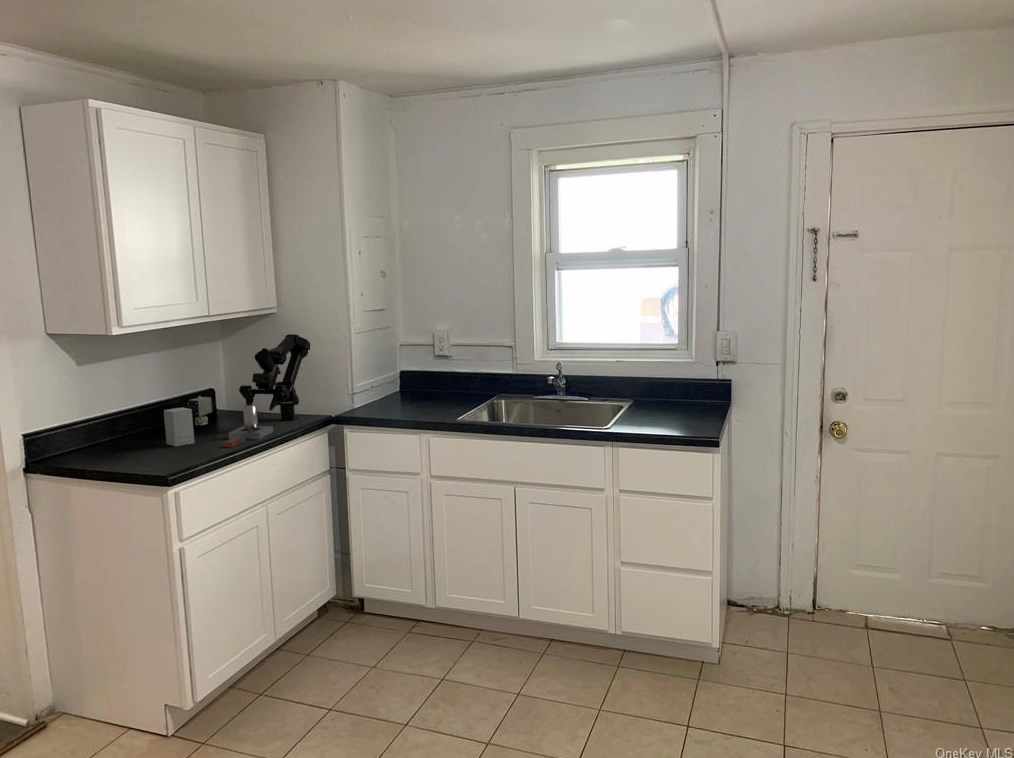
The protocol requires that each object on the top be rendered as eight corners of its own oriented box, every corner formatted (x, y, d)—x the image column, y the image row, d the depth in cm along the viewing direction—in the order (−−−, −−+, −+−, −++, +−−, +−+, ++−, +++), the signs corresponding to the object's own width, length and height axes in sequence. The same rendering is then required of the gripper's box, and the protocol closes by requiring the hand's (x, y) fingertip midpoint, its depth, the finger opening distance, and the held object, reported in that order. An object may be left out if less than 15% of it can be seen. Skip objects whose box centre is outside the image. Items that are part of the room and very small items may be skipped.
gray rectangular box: (243, 432, 301) (242, 426, 301) (273, 432, 300) (272, 426, 300) (211, 447, 277) (211, 440, 277) (244, 447, 275) (243, 440, 275)
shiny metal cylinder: (245, 433, 297) (243, 405, 295) (258, 432, 298) (256, 404, 296) (244, 436, 292) (242, 407, 291) (258, 435, 293) (256, 406, 292)
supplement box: (195, 443, 285) (192, 408, 283) (175, 446, 279) (172, 412, 278) (185, 440, 290) (183, 406, 288) (165, 444, 284) (162, 409, 283)
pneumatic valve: (216, 422, 324) (213, 393, 322) (196, 428, 313) (194, 398, 311) (205, 422, 325) (202, 393, 324) (185, 427, 314) (182, 398, 313)
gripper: (239, 365, 305) (227, 398, 296) (284, 364, 302) (274, 398, 293) (250, 381, 314) (239, 414, 305) (294, 381, 311) (284, 414, 302)
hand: (258, 410), depth 301 cm, fingers open, 9 cm apart
